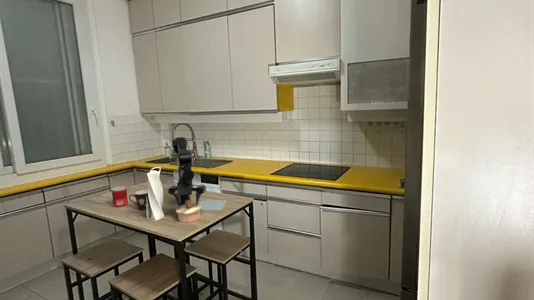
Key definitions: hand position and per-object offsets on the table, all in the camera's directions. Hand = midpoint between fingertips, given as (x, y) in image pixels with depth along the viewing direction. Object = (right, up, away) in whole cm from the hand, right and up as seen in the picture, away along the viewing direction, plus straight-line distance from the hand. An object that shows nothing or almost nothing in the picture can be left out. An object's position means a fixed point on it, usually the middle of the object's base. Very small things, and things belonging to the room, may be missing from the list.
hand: (188, 205), depth 155 cm
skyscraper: (-18, -8, +3) cm, 20 cm away
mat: (+8, -4, +19) cm, 22 cm away
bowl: (0, -7, +1) cm, 8 cm away
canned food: (-48, -5, +25) cm, 55 cm away
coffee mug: (-33, -6, +19) cm, 38 cm away
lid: (0, -2, 0) cm, 2 cm away
